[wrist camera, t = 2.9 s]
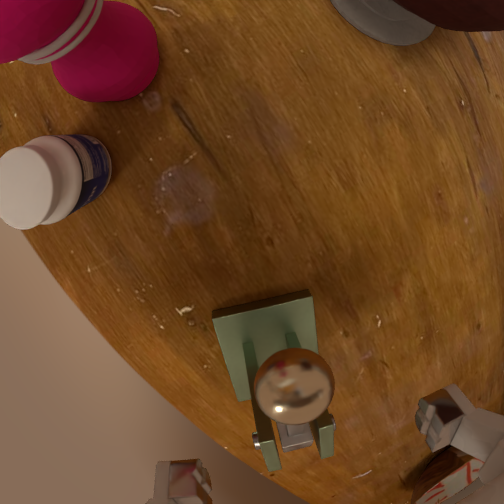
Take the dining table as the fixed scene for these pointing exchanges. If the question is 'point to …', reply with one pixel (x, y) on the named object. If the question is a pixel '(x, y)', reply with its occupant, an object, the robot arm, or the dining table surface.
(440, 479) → the bowl
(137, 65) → the pepper mill
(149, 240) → the dining table surface
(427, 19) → the mate gourd
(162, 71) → the dining table surface
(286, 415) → the lever
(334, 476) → the dining table surface
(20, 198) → the pill bottle
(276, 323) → the bracket
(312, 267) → the dining table surface
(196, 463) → the robot arm
